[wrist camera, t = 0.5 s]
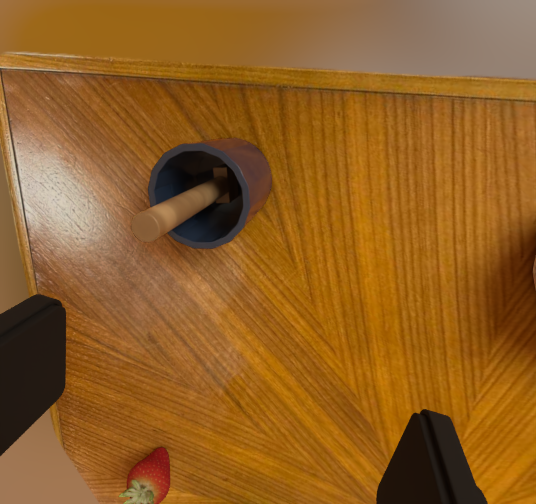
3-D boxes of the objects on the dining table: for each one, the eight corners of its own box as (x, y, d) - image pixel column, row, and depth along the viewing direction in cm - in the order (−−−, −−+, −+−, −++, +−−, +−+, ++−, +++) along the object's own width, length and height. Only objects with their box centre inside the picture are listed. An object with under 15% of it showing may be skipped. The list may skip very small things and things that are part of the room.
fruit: (186, 443, 46) (157, 505, 39) (180, 471, 48) (151, 535, 41) (149, 430, 47) (113, 488, 39) (144, 458, 49) (109, 519, 41)
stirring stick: (221, 163, 33) (125, 198, 18) (238, 163, 33) (155, 198, 18) (224, 196, 34) (135, 255, 19) (240, 196, 34) (163, 256, 19)
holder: (190, 139, 33) (140, 145, 25) (270, 135, 32) (245, 141, 23) (199, 218, 36) (156, 248, 27) (273, 218, 34) (252, 249, 26)
